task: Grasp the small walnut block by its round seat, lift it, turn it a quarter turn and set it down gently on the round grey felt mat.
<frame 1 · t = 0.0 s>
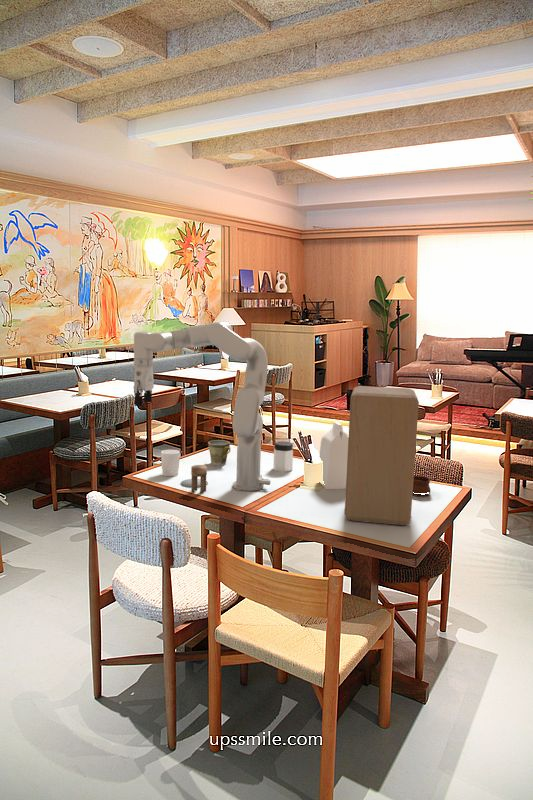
hand: (143, 404, 254), 31 cm above the table, tool pointing down, fingers open, 9 cm apart
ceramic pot: (418, 495, 248), on the table
felt mat: (194, 483, 253), on the table
milk: (334, 485, 258), on the table
block: (376, 514, 222), on the table
jar: (282, 469, 279), on the table
white cup: (170, 474, 265), on the table
ceramic cup: (220, 464, 284), on the table
stool mini: (198, 491, 242), on the table
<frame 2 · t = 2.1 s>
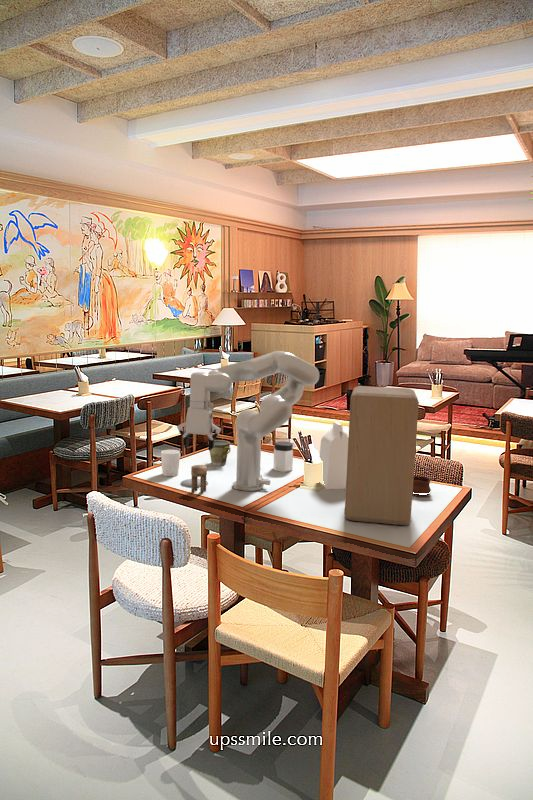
hand: (198, 448, 239), 17 cm above the table, tool pointing down, fingers open, 9 cm apart
nothing on the table moved.
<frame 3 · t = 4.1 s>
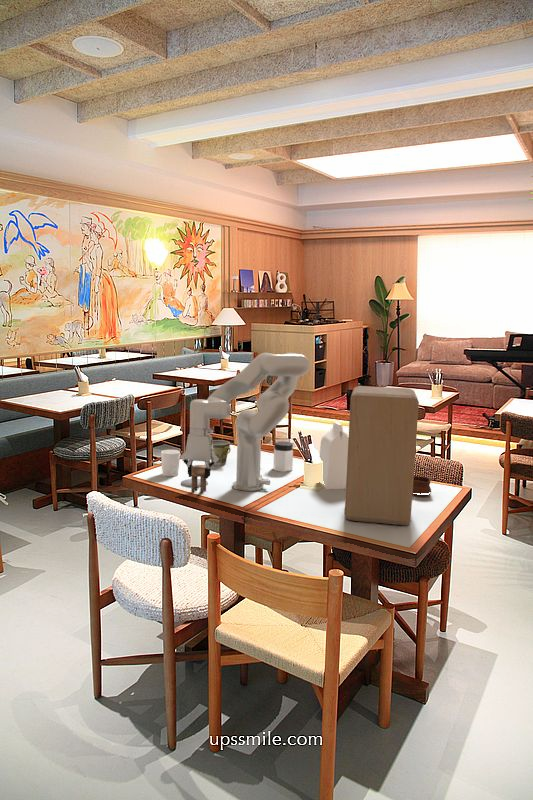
hand: (199, 476, 241), 6 cm above the table, tool pointing down, fingers closed on stool mini, 6 cm apart
stool mini: (198, 491, 242), on the table, touching gripper
everything else where it was.
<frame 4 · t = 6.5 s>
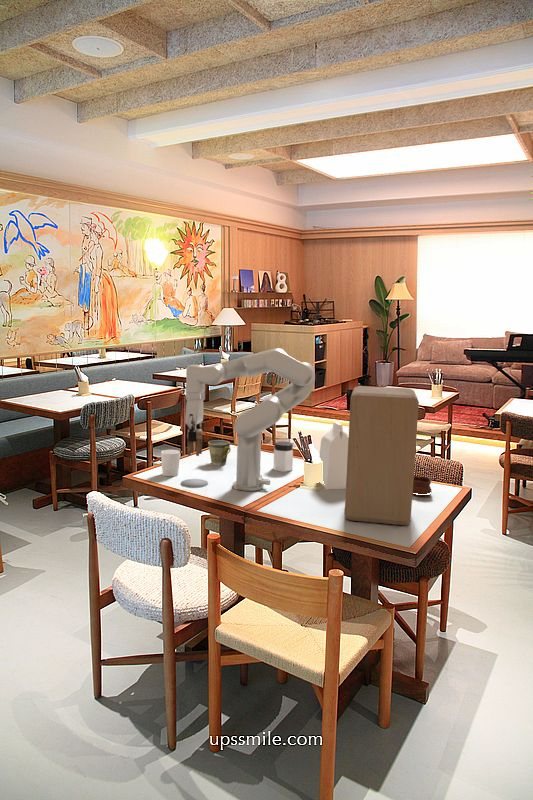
hand: (194, 439, 250), 19 cm above the table, tool pointing down, fingers closed on stool mini, 6 cm apart
stool mini: (194, 454, 251), point 12 cm above the table, touching gripper
everything else where it was.
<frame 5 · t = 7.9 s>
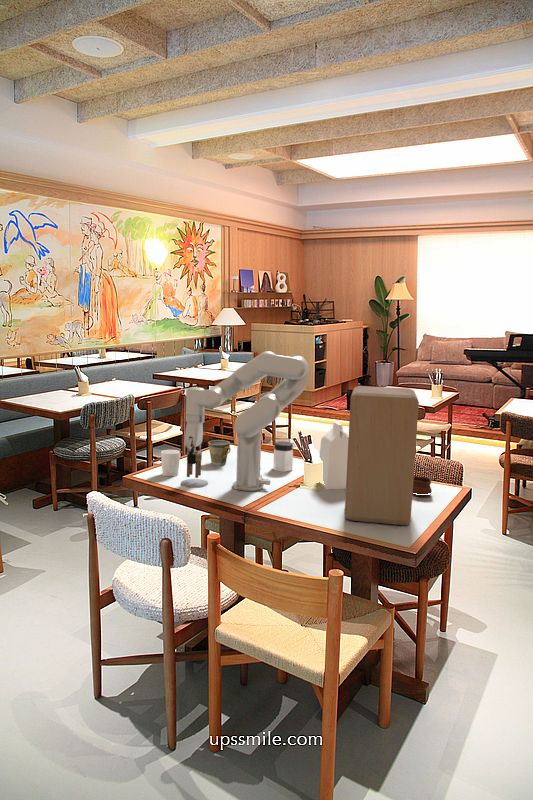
hand: (194, 461, 251), 9 cm above the table, tool pointing down, fingers closed on stool mini, 6 cm apart
stool mini: (193, 475, 252), point 3 cm above the table, touching gripper
when the fingers open (7 cm above the table, at t = 9.2 s): stool mini stays where it is, resting on felt mat.
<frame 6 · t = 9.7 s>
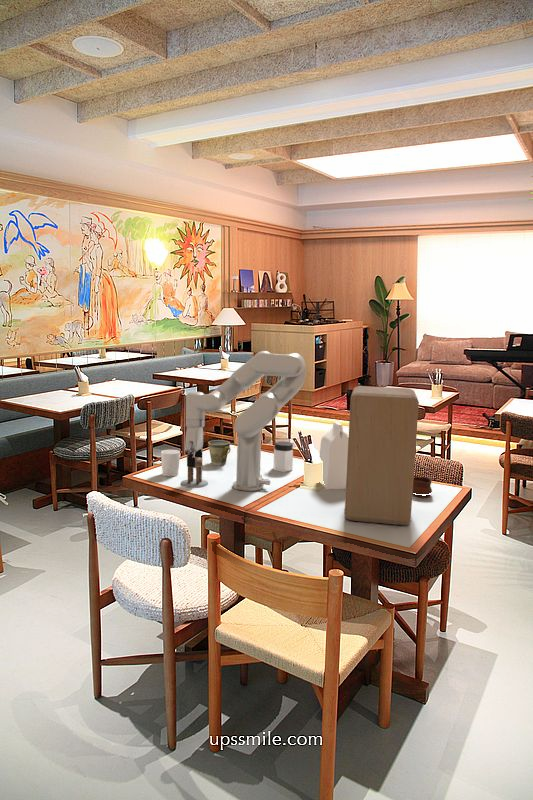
hand: (194, 463, 251), 8 cm above the table, tool pointing down, fingers open, 9 cm apart
stool mini: (194, 482, 252), resting on felt mat
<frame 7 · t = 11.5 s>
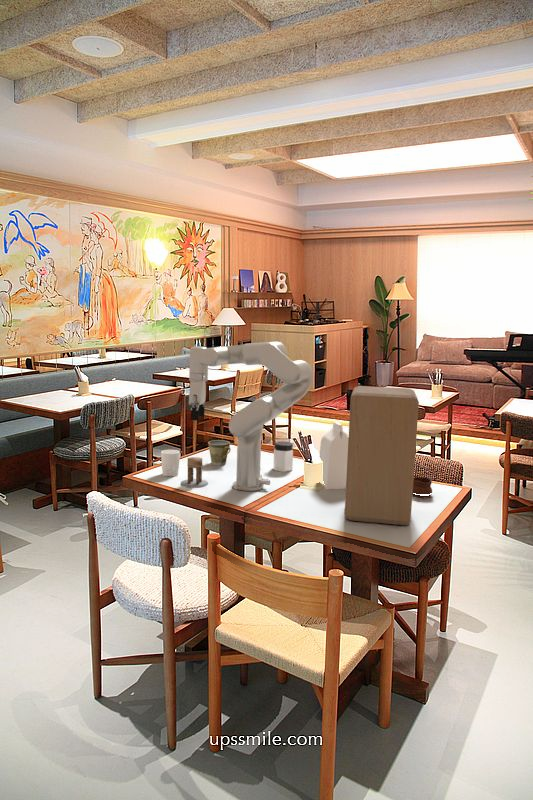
hand: (197, 418, 255), 26 cm above the table, tool pointing down, fingers open, 9 cm apart
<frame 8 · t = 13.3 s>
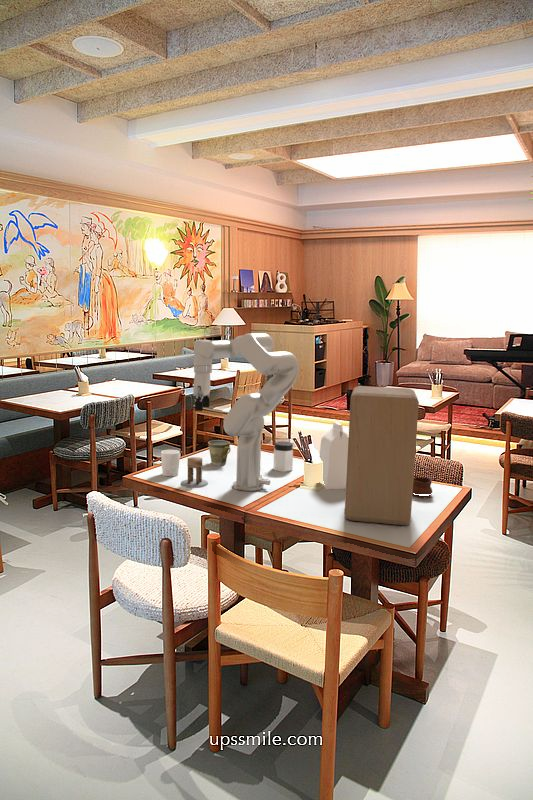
hand: (202, 408, 264), 28 cm above the table, tool pointing down, fingers open, 9 cm apart
at the end: stool mini 0.1 cm from the felt mat (horizontally); stool mini tilted 0°; stool mini resting on felt mat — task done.
